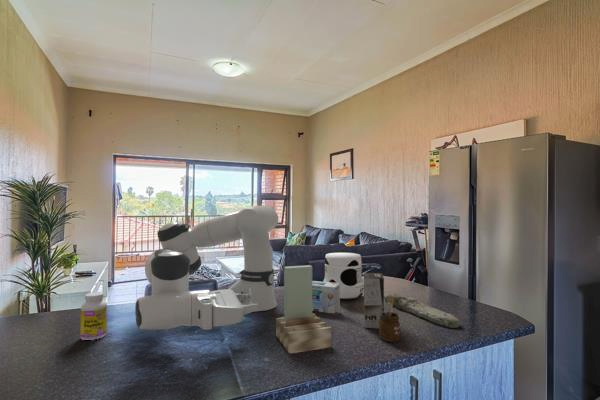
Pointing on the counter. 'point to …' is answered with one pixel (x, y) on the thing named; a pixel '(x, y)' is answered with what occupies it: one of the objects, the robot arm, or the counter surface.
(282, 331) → the birch rack
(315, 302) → the light bulb box
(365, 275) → the coffee box
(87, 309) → the supplement bottle
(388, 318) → the utensil holder
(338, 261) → the spotted cookie jar
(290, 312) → the tall panel
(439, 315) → the elongated rock
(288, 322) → the walnut offcut
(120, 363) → the counter surface
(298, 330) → the oak offcut
